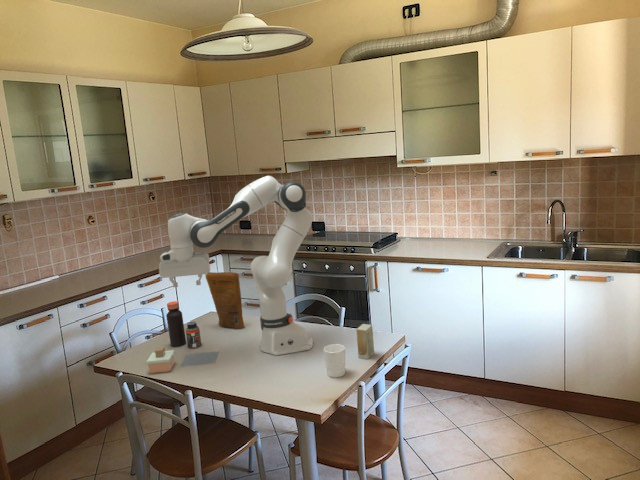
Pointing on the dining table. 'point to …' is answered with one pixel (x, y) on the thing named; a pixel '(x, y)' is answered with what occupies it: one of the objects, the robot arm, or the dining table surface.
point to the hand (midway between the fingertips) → (187, 285)
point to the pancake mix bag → (226, 298)
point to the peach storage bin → (161, 366)
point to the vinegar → (175, 325)
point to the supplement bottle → (193, 335)
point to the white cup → (335, 360)
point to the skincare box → (365, 341)
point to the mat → (199, 359)
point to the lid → (160, 356)
